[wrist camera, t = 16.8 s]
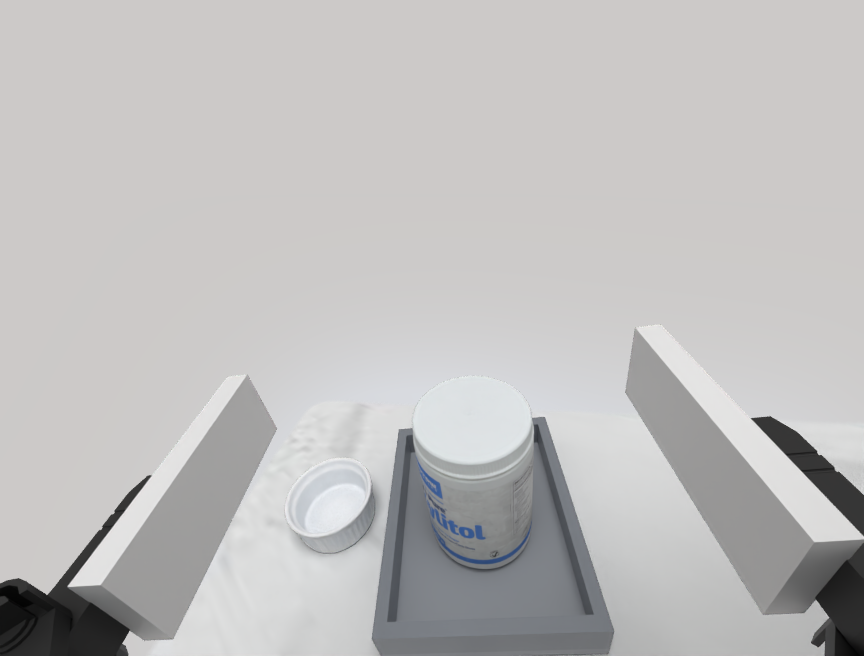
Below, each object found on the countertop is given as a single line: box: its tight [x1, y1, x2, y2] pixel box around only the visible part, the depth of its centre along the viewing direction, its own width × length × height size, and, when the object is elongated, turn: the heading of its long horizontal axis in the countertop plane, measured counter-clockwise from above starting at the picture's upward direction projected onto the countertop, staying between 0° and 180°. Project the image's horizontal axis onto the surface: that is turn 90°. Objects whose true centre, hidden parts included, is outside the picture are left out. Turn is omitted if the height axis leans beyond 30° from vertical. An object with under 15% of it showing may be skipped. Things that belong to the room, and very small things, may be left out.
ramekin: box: [284, 457, 375, 553], centre depth 39 cm, size 9×9×4 cm
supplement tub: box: [412, 376, 534, 569], centre depth 32 cm, size 10×10×15 cm
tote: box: [372, 417, 614, 656], centre depth 36 cm, size 17×20×4 cm
